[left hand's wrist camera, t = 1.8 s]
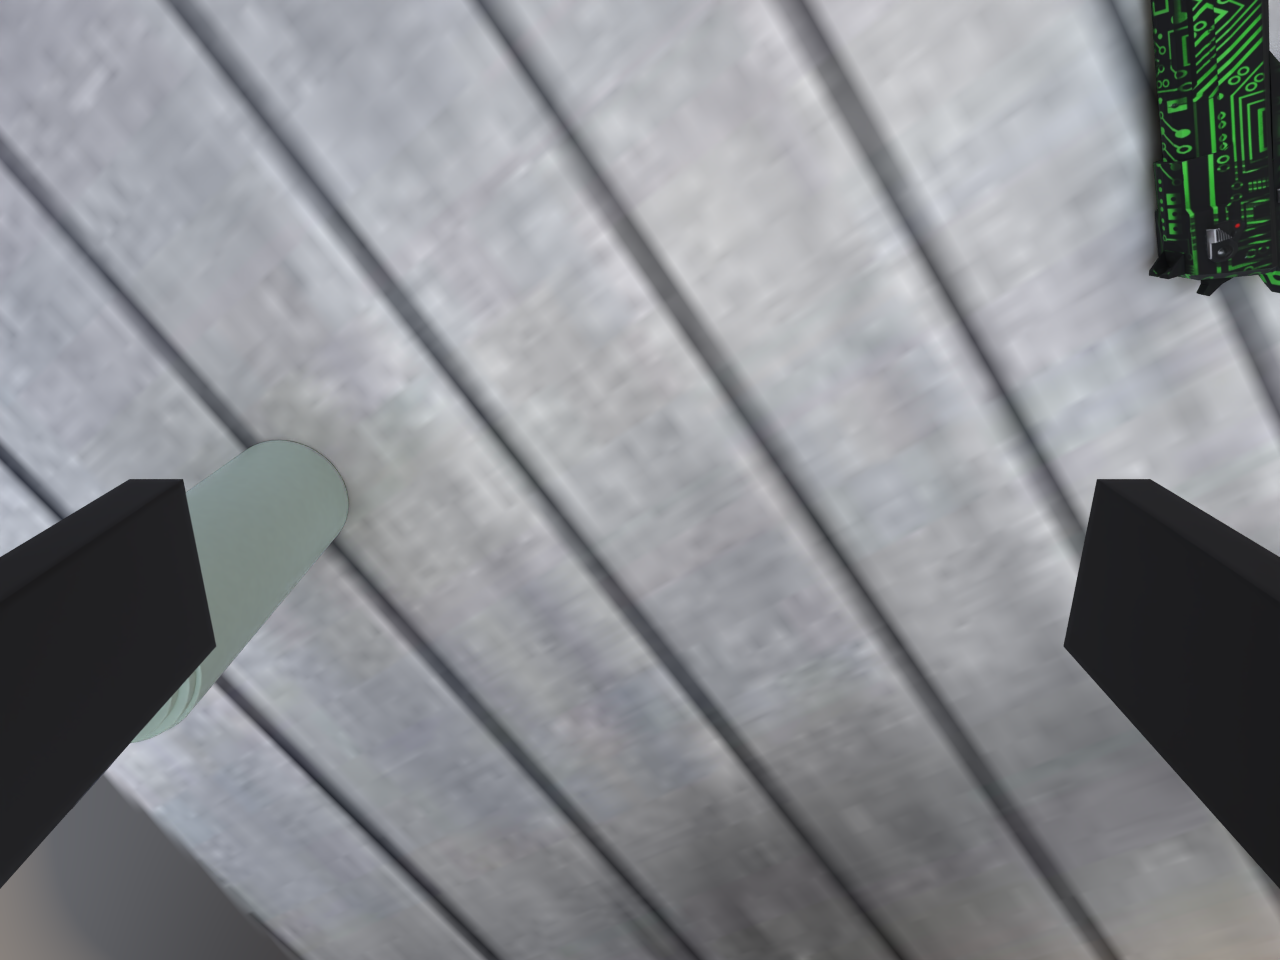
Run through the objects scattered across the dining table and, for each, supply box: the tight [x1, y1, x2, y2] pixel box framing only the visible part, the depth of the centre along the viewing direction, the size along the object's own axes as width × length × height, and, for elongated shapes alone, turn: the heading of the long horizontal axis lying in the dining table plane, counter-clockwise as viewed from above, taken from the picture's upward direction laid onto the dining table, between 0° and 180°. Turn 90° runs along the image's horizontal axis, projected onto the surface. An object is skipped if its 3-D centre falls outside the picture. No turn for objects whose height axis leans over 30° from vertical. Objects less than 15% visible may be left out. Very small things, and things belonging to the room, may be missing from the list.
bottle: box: [131, 440, 348, 743], centre depth 33 cm, size 6×6×20 cm
